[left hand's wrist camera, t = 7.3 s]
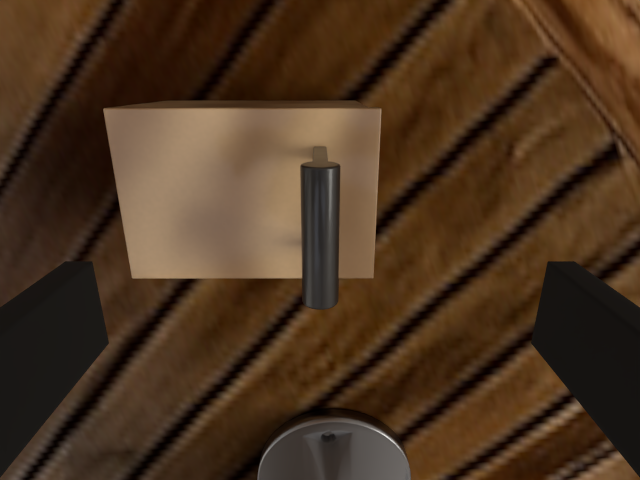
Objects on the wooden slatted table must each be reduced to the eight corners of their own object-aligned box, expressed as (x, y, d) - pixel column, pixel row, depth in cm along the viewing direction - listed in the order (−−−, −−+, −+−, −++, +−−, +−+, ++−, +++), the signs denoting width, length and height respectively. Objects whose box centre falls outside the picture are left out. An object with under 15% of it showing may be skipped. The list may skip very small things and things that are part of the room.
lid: (379, 107, 23) (407, 119, 16) (371, 272, 26) (392, 345, 19) (110, 107, 23) (12, 119, 16) (137, 272, 26) (67, 346, 19)
